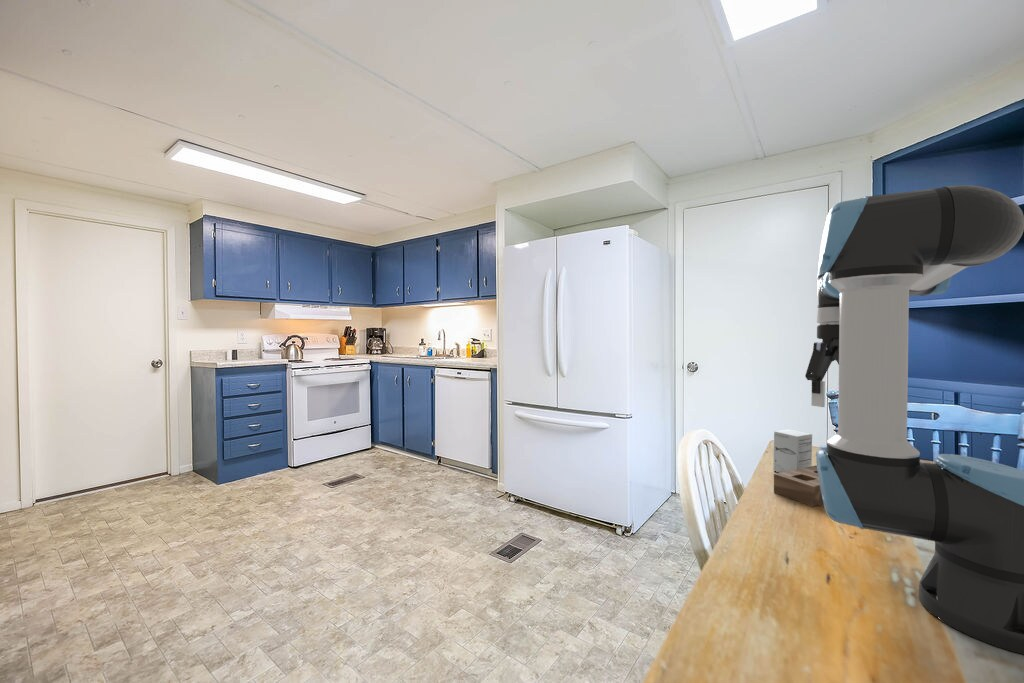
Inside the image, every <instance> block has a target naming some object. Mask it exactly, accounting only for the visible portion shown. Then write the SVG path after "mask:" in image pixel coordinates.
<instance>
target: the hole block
mask: <svg viewBox="0 0 1024 683" xmlns="http://www.w3.org/2000/svg"><path fill="white" fill-rule="evenodd" d="M774 492H775V493H774ZM773 493H774V494H777V495H779V496H783V497H785V498H788V499H791V500H794V501H796V502H800V503H802V504H805V505H808V506H811V507H813V508H814V507H817V506H821V505H824V503H823V499H822V494H821V489H820V483H819V477H818V470H817V465H811V467H806V468H801V469H796V470H791V471H786V472H781V473H779V472H775V473H773Z"/></svg>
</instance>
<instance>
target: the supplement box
mask: <svg viewBox="0 0 1024 683" xmlns="http://www.w3.org/2000/svg"><path fill="white" fill-rule="evenodd" d="M812 452H813V434H812V433H807V432H803V431H799V430H794V429H789V428H787V429H780V430H774V433H773V469H772V470H773V472H774V471H776V472H775V473H781V472H786V471H791V470H796V469H801V468H806V467H811V466H813V465H812V464H813V463H812V461H813V460H812V458H813V457H812V455H813V453H812Z"/></svg>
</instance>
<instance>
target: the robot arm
mask: <svg viewBox="0 0 1024 683" xmlns="http://www.w3.org/2000/svg"><path fill="white" fill-rule="evenodd" d="M1023 233H1024V211H1023V210H1022V209H1021V208H1020V206H1019V205H1018V203H1017V202H1016V201H1015V200H1014V199H1012V198H1011V197H1009V196H1007V195H1006V194H1005V193H1003V192H1000V191H997V190H995V189H992V188H989V187H984V186H978V185H968V184H967V185H964V184H962V185H960V184H959V185H957V184H956V185H950V186H942V187H936V188H930V189H929V188H927V189H921V190H920V189H919V190H910V191H903V192H894V193H885V194H880V195H879V194H878V195H869V196H868V195H867V196H866V195H865V196H863V197H859V198H855V199H851V200H844V201H843V200H842V201H840V202H838V203H835V204H834V205H832V207H831V208H830V210H829V211H828V213H827V216H826V220H825V224H824V228H823V232H822V237H821V242H820V249H819V254H818V265H817V276H816V282H817V290H816V291H817V307H816V308H817V309H816V323H817V324H818V325H817V326H816V338H817V339H818V340H821V341H820V342H819V341H815V342H814V343H813V348H812V349H813V350H812V354H811V356H810V359H809V363H808V366H807V369H806V372H805V376H804V377H805V379H806V380H807V381H811V406H813V407H818V408H826V407H825V406H826V405H825V402H826V397H825V394H826V381H823V380H824V379H825V378H824V377H825V376H826V374H827V372H828V370H829V368H830V366H831V364H832V363H833V362H834V361H835V362H837V364H838V398H837V399H838V400H837V401H838V404H837V405H838V406H837V407H838V408H837V409H838V411H837V412H838V418H837V419H838V420H837V422H838V423H837V425H838V426H837V432H836V433H835V434H834V435H832V436H831V437H829V438H828V439H827V440H826V446H827V451H825V450H821V451H820V450H817V451H816V453H815V457H816V466H817V470H818V477H819V483H820V489H821V494H822V499H823V503H824V504H823V507H824V510H825V513H826V515H827V516H828V517H829V518H830V519H831V520H832V521H834V522H836V523H840V524H843V525H846V526H847V525H848V526H850V527H851V526H852V527H856V528H859V529H860V530H870V531H874V532H875V531H877V532H882V533H886V534H893V535H899V536H902V537H903V536H904V537H909V538H915V539H920V540H926V541H930V542H931V541H932V542H934V554H933V556H932V558H931V560H930V561H929V563H928V565H927V567H926V569H925V571H924V572H923V574H922V576H921V578H920V580H919V583H918V600H919V602H920V605H922V606H923V607H924V608H925V609H926V611H928V612H929V611H930V612H931V613H932V614H931V613H930V612H929V613H930V614H931V615H933V614H934V615H935V616H937V617H939V618H940V619H941V620H942V622H943V621H944V622H945V623H944V622H943V623H944V624H946V625H947V626H949V627H951V628H953V629H954V630H957V631H959V632H961V633H963V634H965V635H967V636H969V637H972V638H974V639H976V640H978V641H982V642H984V643H986V644H989V645H992V646H995V647H998V648H1000V649H1004V650H1007V651H1010V652H1015V653H1018V654H1022V655H1024V470H1023V469H1019V468H1015V467H1012V466H1010V465H1006V464H1003V463H1000V462H995V461H991V460H987V459H982V458H977V457H973V456H967V455H960V454H953V453H951V454H949V453H941V454H937V456H936V458H934V463H931V462H921V452H920V451H919V450H918V449H917V448H916V447H915V446H913V444H911V443H910V442H909V440H908V397H909V396H908V391H909V390H908V389H909V387H908V385H909V384H908V383H909V379H908V378H909V377H908V376H909V328H910V327H909V326H910V325H909V321H910V320H909V317H910V316H909V314H910V312H909V310H910V309H909V308H910V306H909V305H910V296H922V297H926V296H930V295H933V296H934V295H941V294H942V295H943V294H945V293H946V292H947V291H948V289H949V287H950V286H951V281H952V277H953V276H954V275H956V274H958V273H960V272H961V271H963V270H965V269H966V268H969V267H970V268H971V267H978V266H981V265H985V264H988V263H990V262H992V261H994V260H997V259H998V258H1000V257H1001V256H1002V257H1003V255H1005V254H1006V253H1008V252H1009V251H1011V250H1012V248H1014V247H1015V246H1016V245H1017V244H1018V243H1019V241H1020V239H1021V238H1022V236H1023ZM934 615H933V616H934ZM935 616H934V617H935ZM937 617H936V618H937ZM940 619H939V620H940ZM941 620H940V621H941Z"/></svg>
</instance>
